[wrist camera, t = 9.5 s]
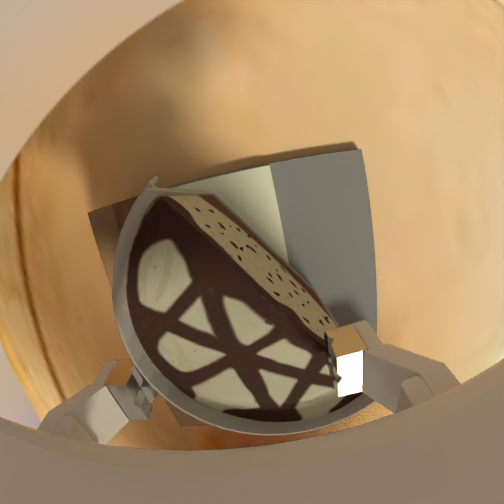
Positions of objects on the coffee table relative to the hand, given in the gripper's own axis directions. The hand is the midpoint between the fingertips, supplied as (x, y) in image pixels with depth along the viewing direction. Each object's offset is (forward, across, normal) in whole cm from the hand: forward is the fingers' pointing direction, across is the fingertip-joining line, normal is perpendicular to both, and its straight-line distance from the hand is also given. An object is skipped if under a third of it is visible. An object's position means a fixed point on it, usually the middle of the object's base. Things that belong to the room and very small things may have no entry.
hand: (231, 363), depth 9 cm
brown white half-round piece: (+10, 0, 0) cm, 10 cm away
